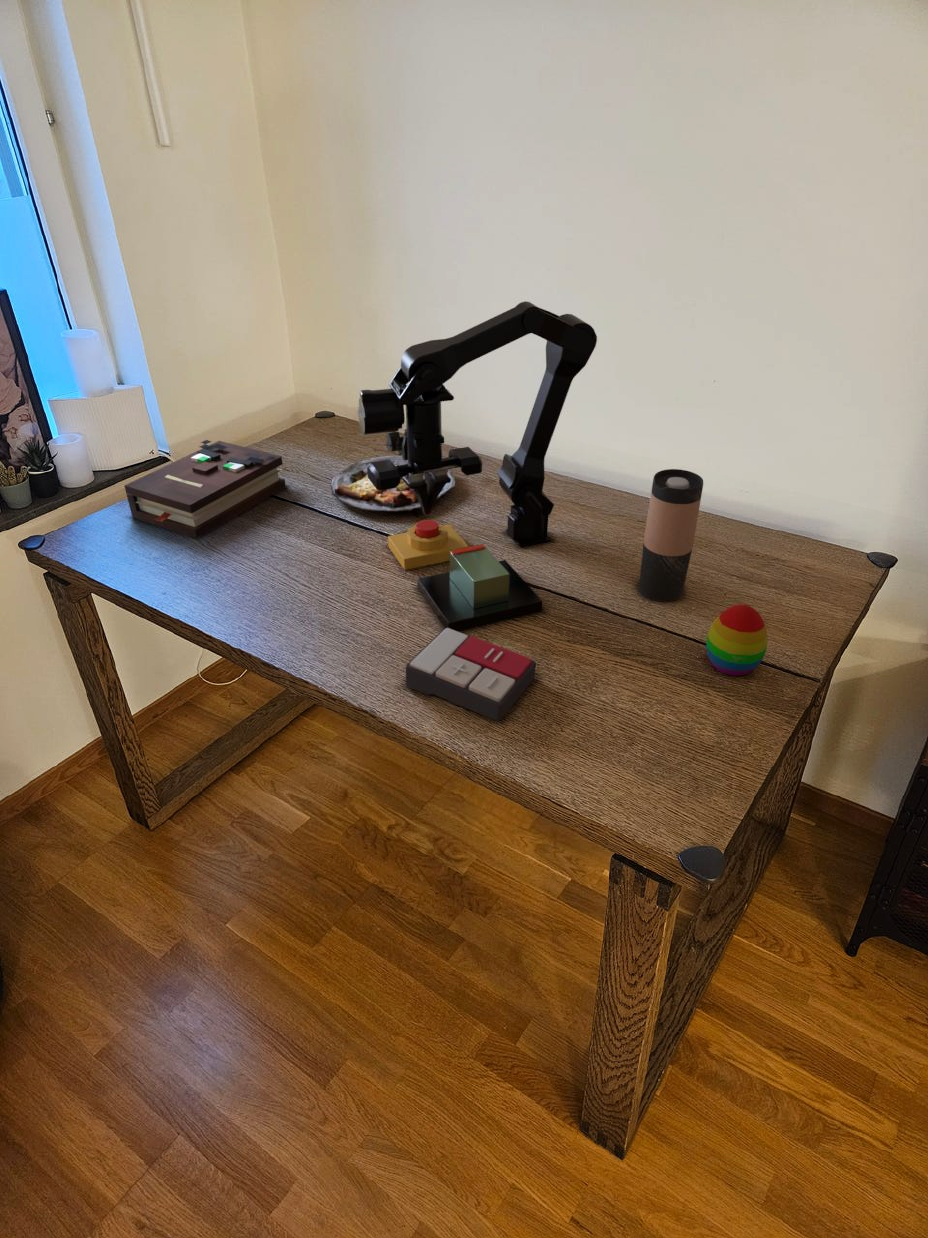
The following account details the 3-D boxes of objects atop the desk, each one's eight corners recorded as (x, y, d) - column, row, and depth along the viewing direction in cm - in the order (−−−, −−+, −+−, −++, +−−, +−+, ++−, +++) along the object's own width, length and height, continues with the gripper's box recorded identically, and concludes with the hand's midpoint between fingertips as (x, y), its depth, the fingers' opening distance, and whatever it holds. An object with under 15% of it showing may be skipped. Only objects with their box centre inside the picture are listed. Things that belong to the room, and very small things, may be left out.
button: (434, 526, 145) (433, 518, 144) (442, 536, 142) (442, 527, 141) (413, 530, 143) (412, 522, 142) (420, 541, 140) (420, 532, 139)
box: (508, 600, 128) (509, 572, 125) (473, 609, 126) (474, 580, 123) (483, 570, 135) (483, 543, 132) (449, 578, 133) (449, 550, 130)
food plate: (403, 530, 151) (402, 513, 149) (308, 501, 161) (306, 485, 159) (473, 482, 169) (473, 466, 167) (383, 458, 179) (382, 443, 177)
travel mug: (686, 582, 136) (706, 472, 125) (681, 606, 130) (701, 492, 119) (640, 575, 138) (656, 465, 127) (633, 597, 132) (649, 485, 121)
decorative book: (108, 484, 150) (222, 432, 172) (118, 521, 154) (228, 465, 176) (184, 507, 142) (293, 449, 164) (192, 545, 147) (297, 483, 168)
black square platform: (504, 569, 139) (505, 559, 138) (542, 611, 129) (542, 600, 128) (417, 588, 134) (417, 578, 133) (448, 633, 124) (448, 623, 123)
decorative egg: (745, 689, 113) (760, 631, 107) (692, 666, 117) (704, 608, 111) (770, 662, 118) (785, 605, 112) (718, 641, 122) (730, 585, 116)
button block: (449, 534, 150) (449, 515, 148) (468, 556, 143) (468, 536, 141) (388, 546, 146) (387, 527, 144) (404, 570, 139) (403, 550, 137)
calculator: (501, 701, 105) (404, 661, 110) (498, 726, 107) (404, 685, 113) (537, 657, 113) (445, 622, 118) (534, 680, 115) (444, 645, 121)
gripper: (458, 404, 141) (458, 486, 149) (354, 418, 135) (361, 503, 143) (484, 425, 132) (482, 511, 141) (374, 442, 126) (380, 531, 135)
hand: (426, 513), depth 140 cm, fingers closed
